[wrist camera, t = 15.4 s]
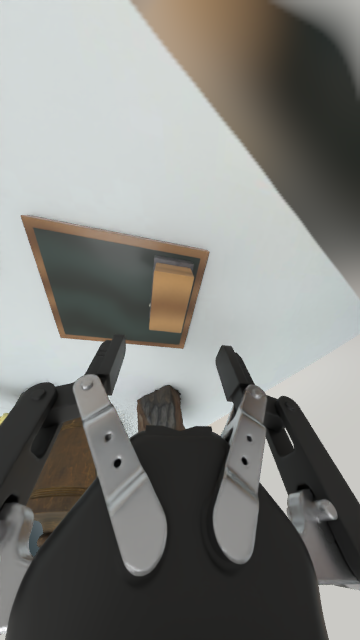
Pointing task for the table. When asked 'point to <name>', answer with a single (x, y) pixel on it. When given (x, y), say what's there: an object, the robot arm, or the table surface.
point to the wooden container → (62, 477)
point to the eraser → (170, 293)
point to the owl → (160, 409)
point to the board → (105, 280)
